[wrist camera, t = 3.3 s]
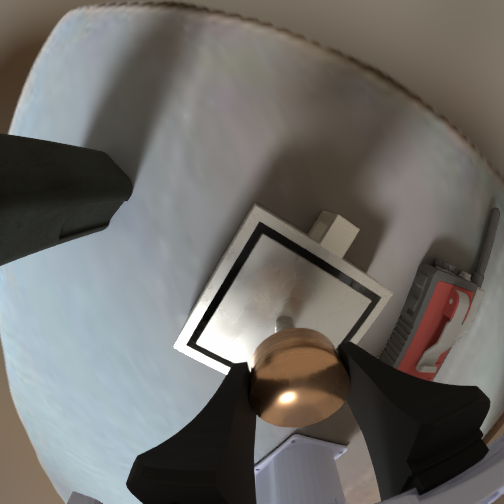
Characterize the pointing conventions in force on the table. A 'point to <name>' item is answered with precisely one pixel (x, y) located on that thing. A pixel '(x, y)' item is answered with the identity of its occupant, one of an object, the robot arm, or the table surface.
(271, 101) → the table surface
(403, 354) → the walkie-talkie
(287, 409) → the square lid with knob
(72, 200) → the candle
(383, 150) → the table surface
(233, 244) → the square tray with tab
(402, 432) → the robot arm
